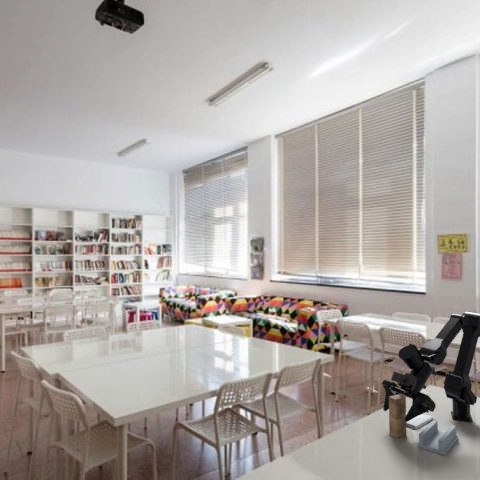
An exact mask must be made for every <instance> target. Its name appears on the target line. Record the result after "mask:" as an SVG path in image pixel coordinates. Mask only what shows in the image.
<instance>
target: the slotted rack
mask: <svg viewBox="0 0 480 480" xmlns="http://www.w3.org/2000/svg"><path fill="white" fill-rule="evenodd" d="M438 426H439V424H438V420H437V419H436V420H435V419H433V420H432V421H430V422H429V423H428V425H427V426H426V427H425V428H424V429H423V430H422V431H421V432H419V433H418V442H417V448H421V449H424V450H427V451H430V452H434V453H437V454H440V455H442V456H446V454H447V453H448V452H449V451H450V449H452V447H453V446H454V444H455V443H456V442H457V441H458V440H459V435H457V425H454V424H451V425H450V426H449V428H448V429H447V430H446V431H443V430H439V429H438V428H439V427H438Z"/></svg>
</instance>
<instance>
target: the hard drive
mask: <svg viewBox="0 0 480 480" xmlns="http://www.w3.org/2000/svg"><path fill="white" fill-rule="evenodd" d="M407 413H408V412H406V415H407ZM431 420H432V421H433V420H434V417H433V416H432V415H428V414H426V413H423V414H421V415H419V416H417V417H415V418H413V419H411V420H409V421H408V422H406V427H409V428H412V429H413V430H417V429H420V428H421V427H423V426H424V425H427V424H429V423H431V422H432V421H431Z"/></svg>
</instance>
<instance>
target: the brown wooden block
mask: <svg viewBox="0 0 480 480" xmlns="http://www.w3.org/2000/svg"><path fill="white" fill-rule="evenodd" d="M406 413H407V399H406V396H404V395H401V394H400V395H399V394H398V395H394V396H389V409H388V419H389V420H388V425H389V426H388V427H389V428H388V429H389V432H388V433H389V435H390V436H392V437H394V438H396V439H398V438H402V437H405V436H407V426H406V421H405V420H404V419H405V417H406Z"/></svg>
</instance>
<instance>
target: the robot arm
mask: <svg viewBox="0 0 480 480" xmlns="http://www.w3.org/2000/svg"><path fill="white" fill-rule="evenodd" d="M461 331H462V337H461V341H460V345H459V349H458V353H457V357H456V361H455V365H454V368H453V371H452V372H450V373H449V372H447V373H446V374H445V379H444V381H443V383H442V384H443V389H444V393H445V396H446V398H448V399H451V401H452V404H451V405H452V410H451V411H450V416H451V420H456V421H465V422H471V423H472V422H473V420H474V419H473V417H472V415H471V406H475V404H477V400H478V397H477V396H476V395H475V393H474V392H473V391H472V388H473V387H472V386H473V385H472V381H471V379H470V372H471V369H472V364H473V360H474V356H475V353H476V348H477V344H478V340H479V338H480V312H474V311H465V312H463V313H458V312H457V313H456V312H454V313H452V314H451V315H450V317H449V319H448V321H447V322H446V323H445V324H444V326H443V327H442V328H441V329H440V330H439V332H438V333H437V334H436V336H435V337H434V338H433V339H430V340H429V341H427V342H425V343H424V344H423V345H422V346H421V347H420V348H418V347H417V346H416V345H415V344H413V343H409V344H408V345H406V346H404V347H402V348H401V349H400V350H399V351H398V357H399V359H400V360H401V361H402V362H403V363H404V364H405V366H406V367H407V368H408V369H409V370H410V371H409V373H408V372H406V373H404V374H403V373H400V372H397V371H393V372H392V376H391V378H390V379H386V378H385V379H384V380H383V381H382V383H381V386H382V389H383V390H384V393H385V397H384V402H383V407H382V408H383V409H382V410H383V411H384V412H387V411H389V396H394V395H398V394H399V395H401V396H404V397H407V398H409V399H411V400H412V402H411V406H410V408H409V409H408V412H406V413H407V415H406V417H405V419H404V420H405V421H406V422H408V421H409V420H411V419H413V418H415V417H417V416H419V415H421V414H426V413H429V412H432V413H433V412H434V411H435V410H436V406H437V405H436V403H435V401H434V400H433V399H432V398H431V396H429V395H428V394H427V393H426V394H425V393H424V392H422V390H426V388H427V385H426V383H427V381H428V379H429V378H430V376H431V375H432V376H437V372H436V370H435V366H441V365H442V364H443V363H444V361H445V359H446V357H447V355H448V350H447V349H448V348H449V346H450V345H451V344H452V342H453V341H454V340H455V338H456V337H457V336H458V335H459V333H460V332H461ZM430 364H432V365H434V366H432V365H430ZM396 383H397V384H396Z"/></svg>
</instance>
